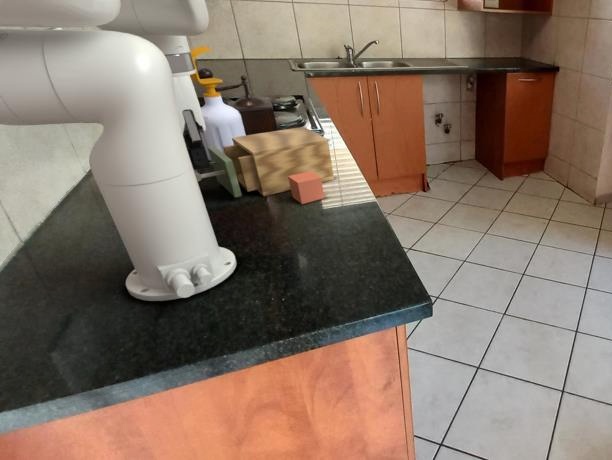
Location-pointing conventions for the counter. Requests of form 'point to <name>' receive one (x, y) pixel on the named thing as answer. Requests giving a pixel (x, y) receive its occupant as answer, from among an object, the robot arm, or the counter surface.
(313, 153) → the cabinet
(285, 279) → the counter surface
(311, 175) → the block
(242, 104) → the pepper mill
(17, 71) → the robot arm
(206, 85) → the soap bottle
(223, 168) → the drawer
